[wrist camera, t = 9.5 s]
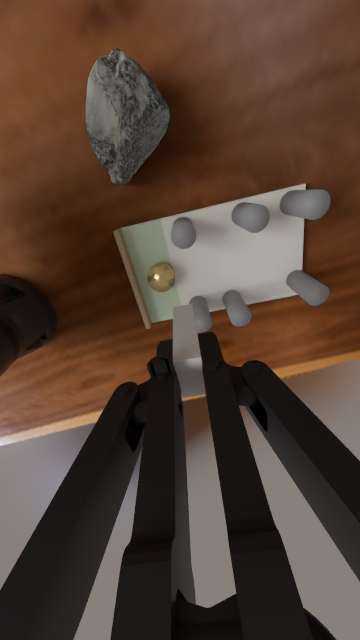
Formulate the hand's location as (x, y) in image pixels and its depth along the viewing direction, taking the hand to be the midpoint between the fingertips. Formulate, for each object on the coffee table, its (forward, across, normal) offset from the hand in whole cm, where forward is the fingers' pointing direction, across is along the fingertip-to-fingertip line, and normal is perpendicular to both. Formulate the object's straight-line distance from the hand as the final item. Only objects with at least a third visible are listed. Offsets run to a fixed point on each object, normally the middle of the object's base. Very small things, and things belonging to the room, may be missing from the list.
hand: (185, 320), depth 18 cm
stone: (+23, -3, +17) cm, 29 cm away
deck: (+22, +5, -2) cm, 23 cm away
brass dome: (+21, -4, -3) cm, 22 cm away
